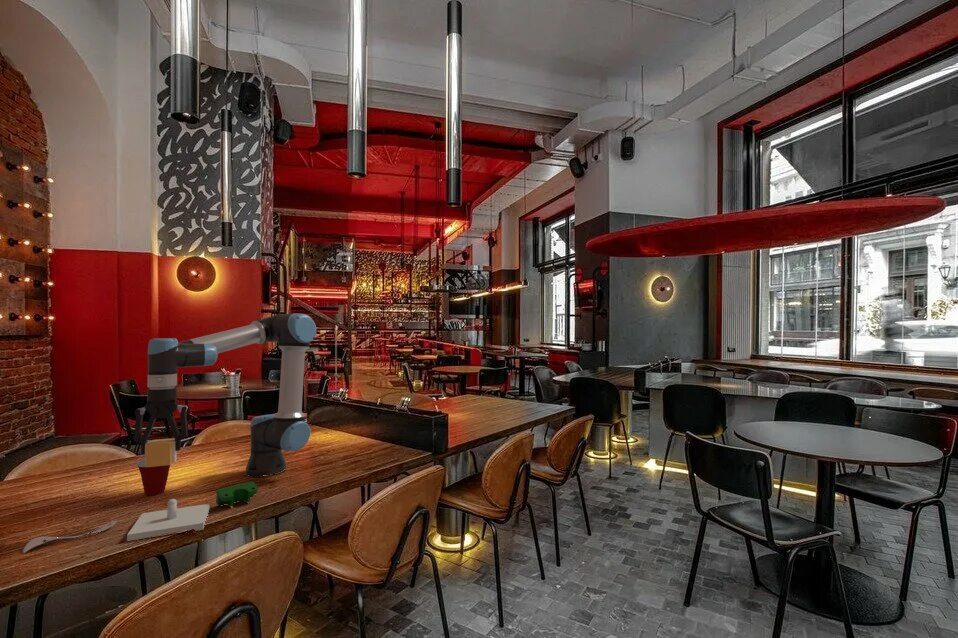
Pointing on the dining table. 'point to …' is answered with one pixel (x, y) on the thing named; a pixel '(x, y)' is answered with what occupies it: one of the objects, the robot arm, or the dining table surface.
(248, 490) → the clamp
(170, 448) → the tan wooden block
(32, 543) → the metal spoon
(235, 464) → the dining table surface
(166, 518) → the base plate
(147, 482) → the plastic cup
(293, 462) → the dining table surface
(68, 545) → the dining table surface
